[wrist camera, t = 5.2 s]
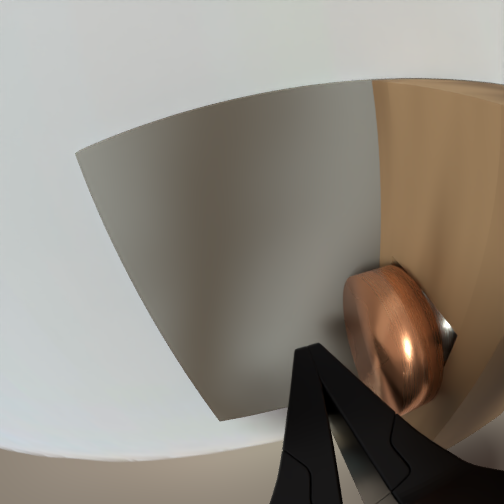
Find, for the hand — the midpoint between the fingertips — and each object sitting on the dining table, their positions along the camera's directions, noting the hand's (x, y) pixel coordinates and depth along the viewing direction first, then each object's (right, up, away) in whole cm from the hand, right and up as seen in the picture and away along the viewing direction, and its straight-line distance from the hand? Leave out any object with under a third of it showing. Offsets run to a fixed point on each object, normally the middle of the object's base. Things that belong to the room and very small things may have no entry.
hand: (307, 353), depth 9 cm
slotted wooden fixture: (+4, +2, +2) cm, 5 cm away
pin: (+6, +3, +1) cm, 7 cm away
